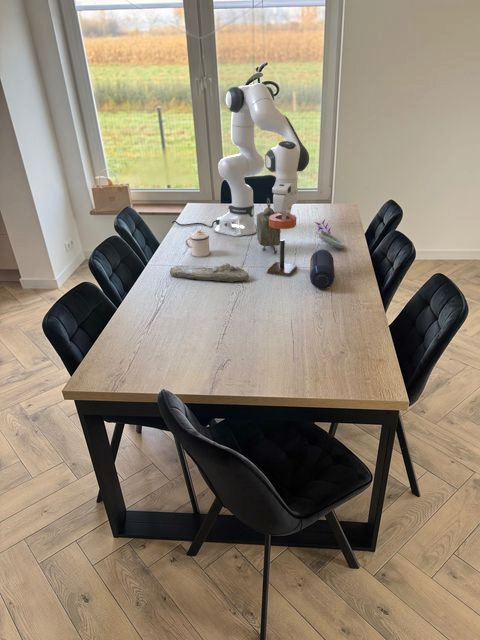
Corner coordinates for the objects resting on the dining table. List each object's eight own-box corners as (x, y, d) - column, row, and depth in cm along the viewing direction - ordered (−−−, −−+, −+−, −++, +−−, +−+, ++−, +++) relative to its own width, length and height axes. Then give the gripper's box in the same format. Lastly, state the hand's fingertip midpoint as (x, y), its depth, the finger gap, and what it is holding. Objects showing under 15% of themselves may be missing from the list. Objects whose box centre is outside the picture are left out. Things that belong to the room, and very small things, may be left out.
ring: (265, 227, 202) (265, 219, 200) (275, 219, 211) (275, 212, 209) (290, 230, 198) (290, 222, 197) (299, 222, 207) (299, 214, 205)
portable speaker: (310, 267, 218) (311, 246, 213) (332, 268, 217) (333, 246, 212) (309, 291, 197) (310, 268, 192) (334, 292, 196) (335, 269, 191)
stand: (267, 273, 213) (267, 242, 206) (275, 265, 221) (275, 235, 214) (288, 276, 210) (289, 245, 203) (296, 268, 218) (297, 237, 210)
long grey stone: (175, 272, 218) (167, 282, 210) (173, 261, 215) (165, 271, 207) (251, 273, 211) (246, 284, 203) (250, 262, 208) (245, 272, 200)
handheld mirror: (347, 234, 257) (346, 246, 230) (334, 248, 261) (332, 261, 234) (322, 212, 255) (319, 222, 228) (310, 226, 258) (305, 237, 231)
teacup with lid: (213, 251, 236) (211, 227, 230) (206, 258, 229) (204, 234, 223) (190, 249, 239) (188, 225, 233) (182, 255, 232) (180, 231, 226)
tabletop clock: (280, 255, 231) (280, 202, 218) (261, 256, 230) (260, 203, 217) (274, 244, 244) (274, 193, 230) (256, 245, 242) (255, 194, 229)
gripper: (287, 178, 209) (287, 210, 216) (270, 189, 193) (270, 224, 200) (301, 179, 207) (300, 212, 214) (285, 191, 191) (284, 225, 198)
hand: (286, 218), depth 207 cm, fingers closed on ring, 2 cm apart
